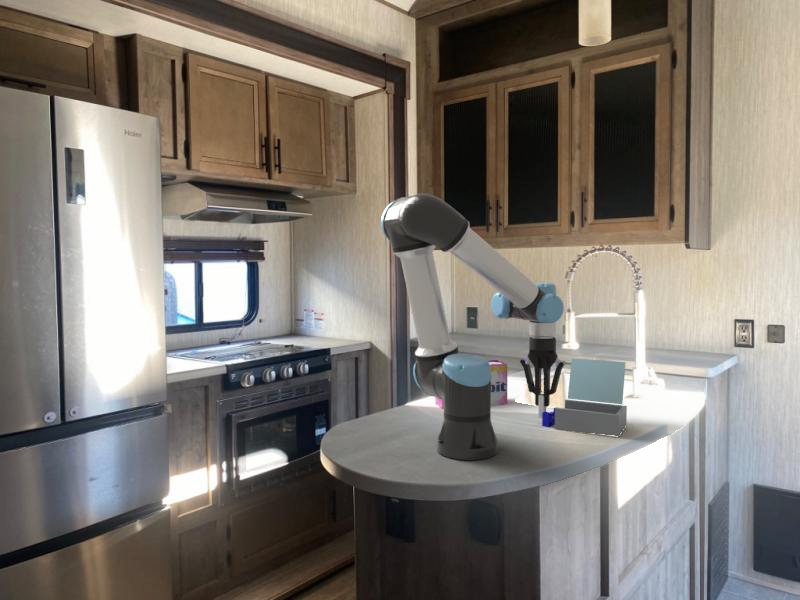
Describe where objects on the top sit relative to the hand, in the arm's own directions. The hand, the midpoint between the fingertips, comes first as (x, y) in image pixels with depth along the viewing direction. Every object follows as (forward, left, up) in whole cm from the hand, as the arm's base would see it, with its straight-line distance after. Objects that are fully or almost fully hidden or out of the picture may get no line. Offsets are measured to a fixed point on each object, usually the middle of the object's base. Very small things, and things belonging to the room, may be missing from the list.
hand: (542, 416), depth 175 cm
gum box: (+10, +27, -2) cm, 29 cm away
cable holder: (0, -2, -2) cm, 3 cm away
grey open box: (0, -13, -2) cm, 13 cm away
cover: (+8, -13, +10) cm, 19 cm away
